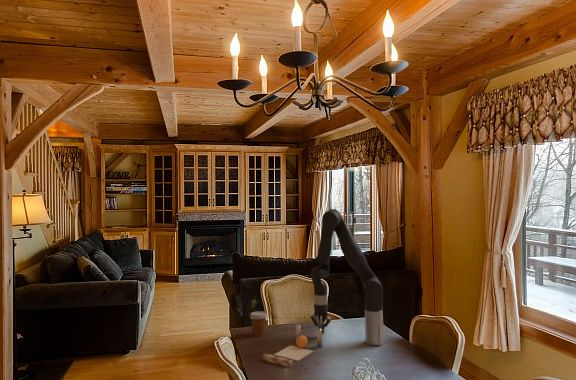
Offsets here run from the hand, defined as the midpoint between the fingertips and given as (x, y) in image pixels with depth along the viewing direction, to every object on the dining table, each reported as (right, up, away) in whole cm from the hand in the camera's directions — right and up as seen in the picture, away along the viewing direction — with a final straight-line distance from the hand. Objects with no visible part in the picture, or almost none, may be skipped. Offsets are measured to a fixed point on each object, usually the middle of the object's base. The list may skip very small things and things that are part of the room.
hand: (321, 334), depth 224 cm
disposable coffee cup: (-35, -3, +6) cm, 35 cm away
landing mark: (-15, -1, -22) cm, 27 cm away
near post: (-2, -1, -14) cm, 15 cm away
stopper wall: (-23, -1, -34) cm, 41 cm away
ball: (-11, +1, -15) cm, 19 cm away
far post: (-13, -2, -7) cm, 15 cm away
